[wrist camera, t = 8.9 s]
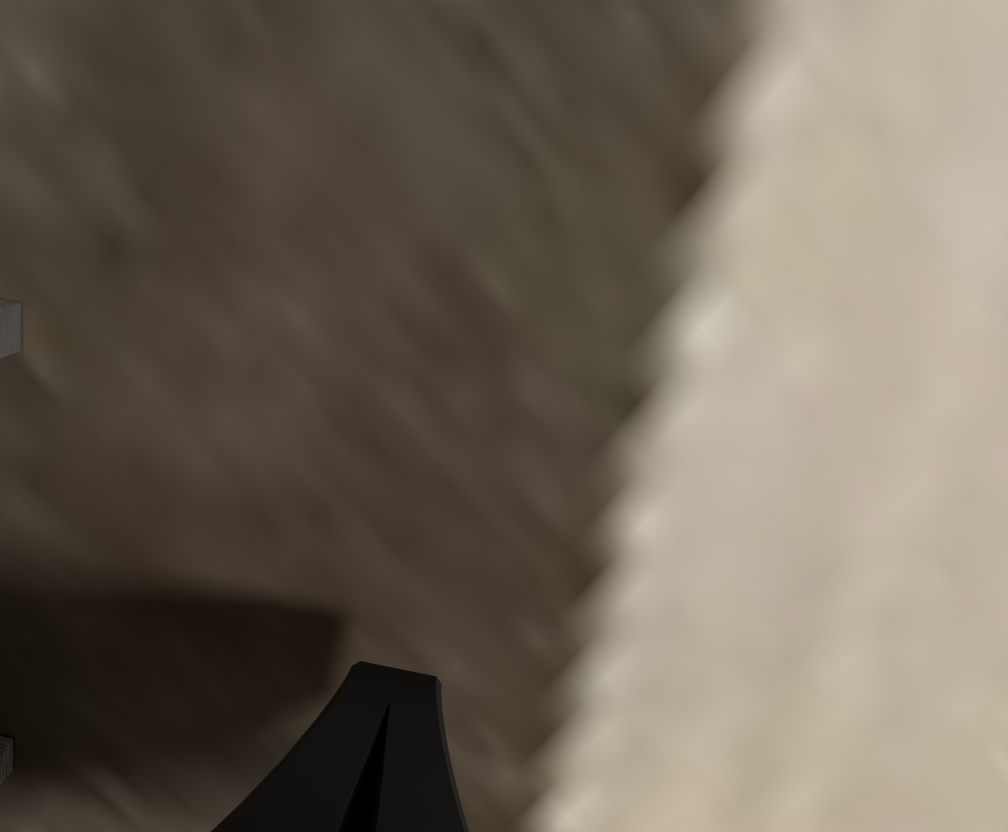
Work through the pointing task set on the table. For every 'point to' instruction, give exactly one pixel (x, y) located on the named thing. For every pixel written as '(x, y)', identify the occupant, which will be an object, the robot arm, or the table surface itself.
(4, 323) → the frame
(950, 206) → the table surface
